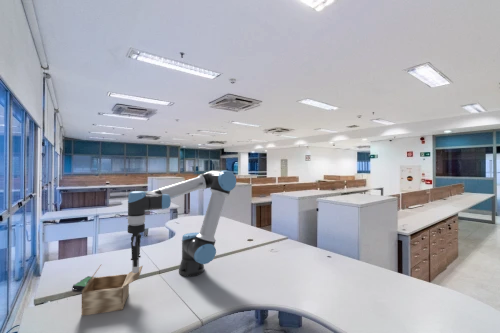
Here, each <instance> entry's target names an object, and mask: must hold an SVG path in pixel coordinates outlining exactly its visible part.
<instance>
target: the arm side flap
mask: <svg viewBox="0 0 500 333" xmlns="http://www.w3.org/2000/svg"><path fill="white" fill-rule="evenodd" d="M143 266H144V265H141V266H139V272H138V273H132V270H131V271H129V272H128V273H127V274H128V276H127V278H126V281H125V283H124V285H123V287H124V286H126V285H128V284H129V285H130V284H132V283H133V282H136V281H137V280H139V279H140V275H141V274H142V273H141V272H142V269H143Z"/></svg>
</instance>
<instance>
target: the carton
mask: <svg viewBox="0 0 500 333" xmlns="http://www.w3.org/2000/svg"><path fill="white" fill-rule="evenodd" d="M128 274H129V273H127V274H126V273H125V274H123V273H121V274H115V275H114V274H113V275H105V276H93V277H94V278H92V279H91V281H90V282H89V283H88V285H87V286H86V288H85V289H84V290H83V292H82V291H81V317H83V316H91V315H96V314H97V315H99V314H104V313H110V312H117V311H122V310H124V307H125V305H126V302H127V299H128V297H129V295H130V292H129V291H130V290H129V289H130V284H128V285H126V286H124V287H123V285H124V283H125V281H126V278H127V276H128Z"/></svg>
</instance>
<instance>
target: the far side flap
mask: <svg viewBox="0 0 500 333" xmlns="http://www.w3.org/2000/svg"><path fill="white" fill-rule="evenodd" d="M102 266H103V265H102V264H100V265H99V267H98V268H97V269H96V270H95V272H94V274H93V275H92V276H91V277H92V278H93V277H95V275H96V274H97V272H98V271H99V269H100V267H102ZM92 278H91V279H92ZM91 279H90V280H91ZM90 280H89V282H90ZM89 282H88V283H89ZM88 283H87V285H88ZM87 285H86V286H87ZM86 286H85V287H86ZM85 287H84V289H85ZM84 289H83V290H84ZM83 290H81V293H82V292H83Z"/></svg>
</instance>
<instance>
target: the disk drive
mask: <svg viewBox="0 0 500 333" xmlns="http://www.w3.org/2000/svg"><path fill="white" fill-rule="evenodd" d="M94 277H95V276H93V278H94ZM91 278H92V276H86V277H84V278H83V279H81V280H80V281H78V282H77V283H74V284H73V285H72V288H71V289H73V288H74V289H79V290H78V291H82V290H83V289H84V287H85V286H86V285H87V283H88V282H89V280H90V279H91ZM90 281H91V280H90ZM85 288H86V287H85Z"/></svg>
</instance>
